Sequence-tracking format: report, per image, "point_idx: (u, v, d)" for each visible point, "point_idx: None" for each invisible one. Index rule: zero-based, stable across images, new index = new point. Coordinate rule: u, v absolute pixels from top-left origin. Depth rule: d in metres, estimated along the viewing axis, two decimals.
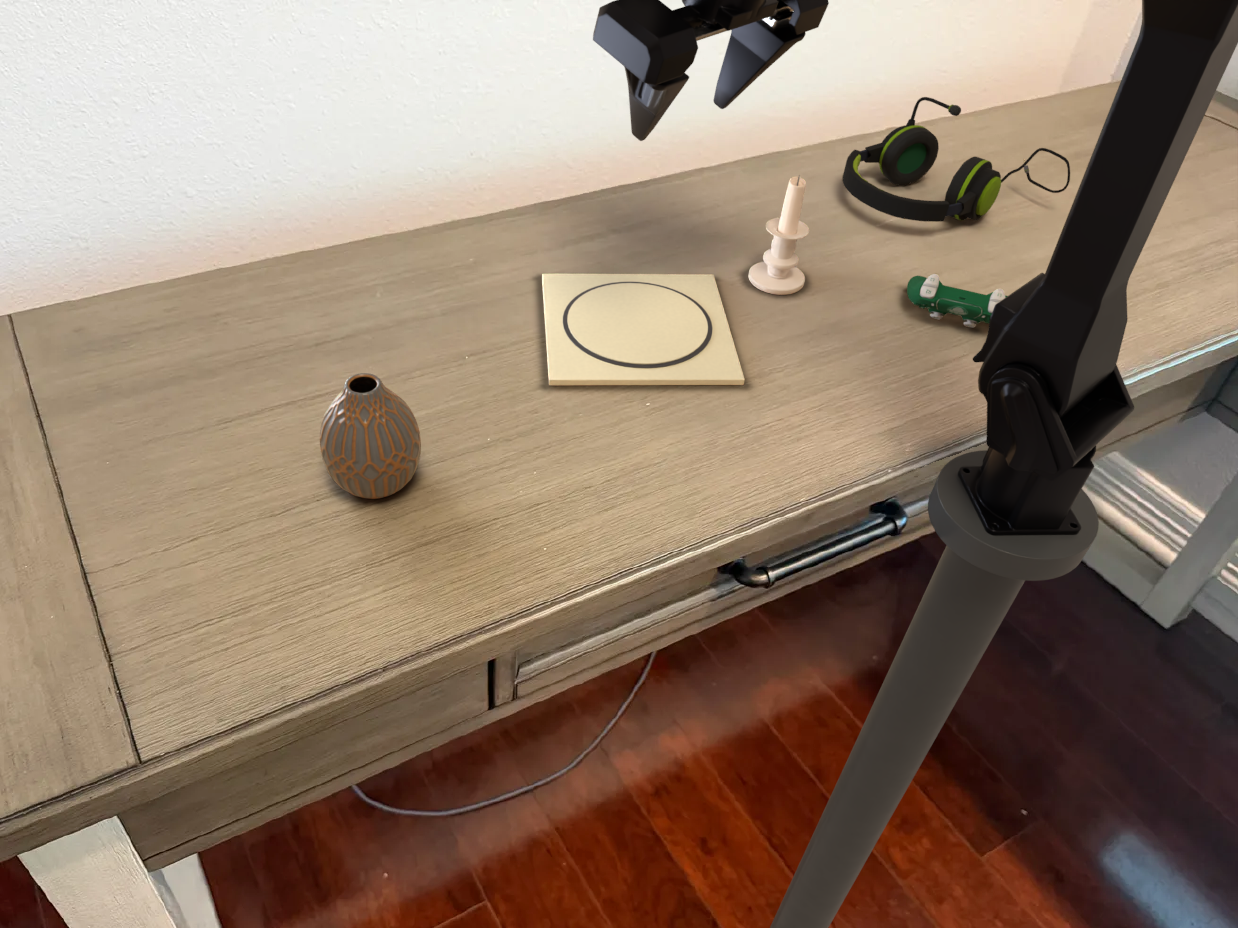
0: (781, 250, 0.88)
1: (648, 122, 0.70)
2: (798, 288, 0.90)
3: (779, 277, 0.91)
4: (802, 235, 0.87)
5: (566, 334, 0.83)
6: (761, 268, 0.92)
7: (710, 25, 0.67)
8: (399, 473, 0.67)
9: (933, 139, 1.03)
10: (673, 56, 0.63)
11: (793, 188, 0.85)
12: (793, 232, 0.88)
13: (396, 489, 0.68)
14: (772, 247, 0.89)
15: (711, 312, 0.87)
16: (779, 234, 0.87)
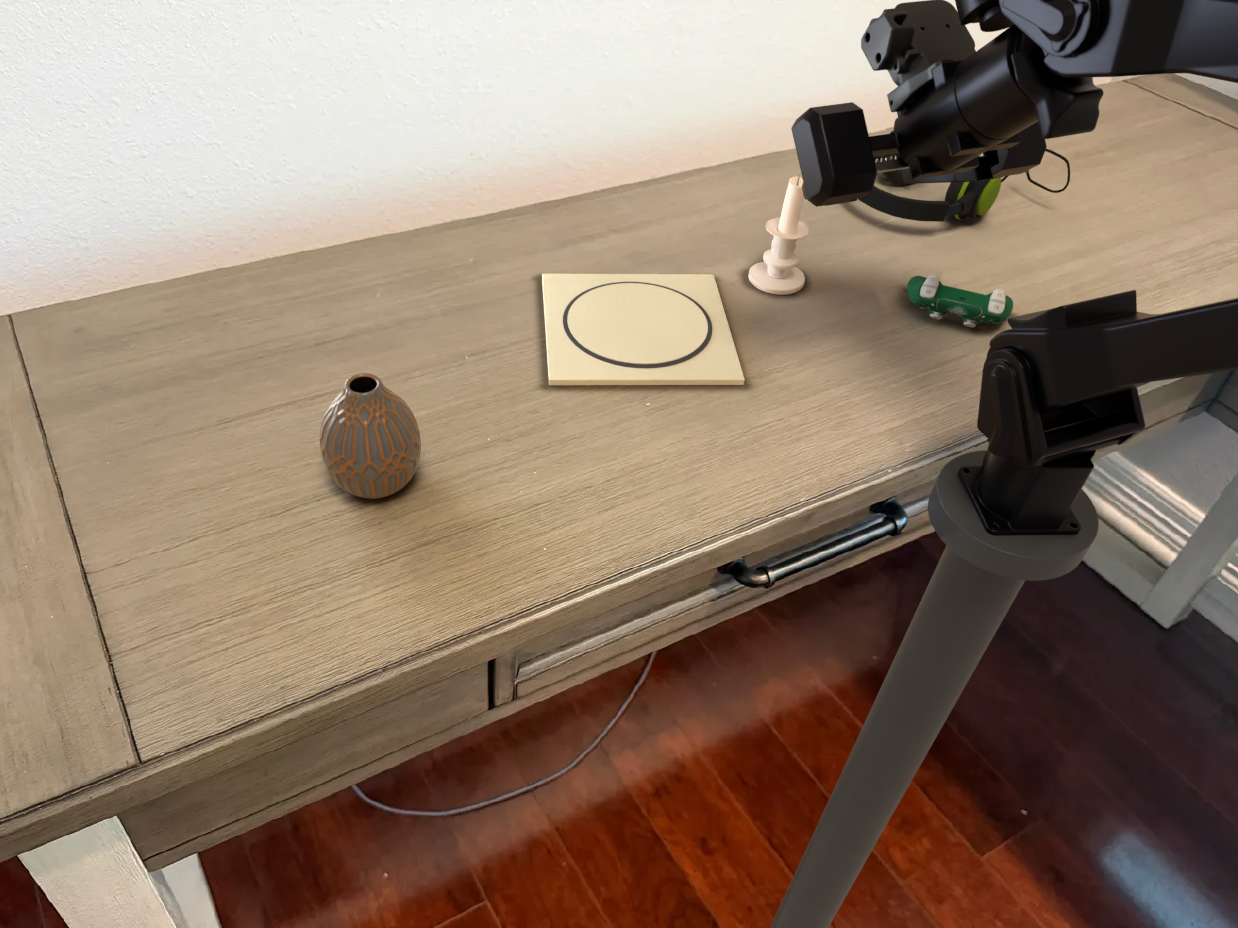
0: (781, 250, 0.88)
1: None
2: (798, 288, 0.90)
3: (779, 277, 0.91)
4: (802, 235, 0.87)
5: (566, 334, 0.83)
6: (761, 268, 0.92)
7: None
8: (399, 473, 0.67)
9: None
10: (842, 195, 0.66)
11: (793, 188, 0.85)
12: (793, 232, 0.88)
13: (396, 489, 0.68)
14: (772, 247, 0.89)
15: (711, 312, 0.87)
16: (779, 234, 0.87)
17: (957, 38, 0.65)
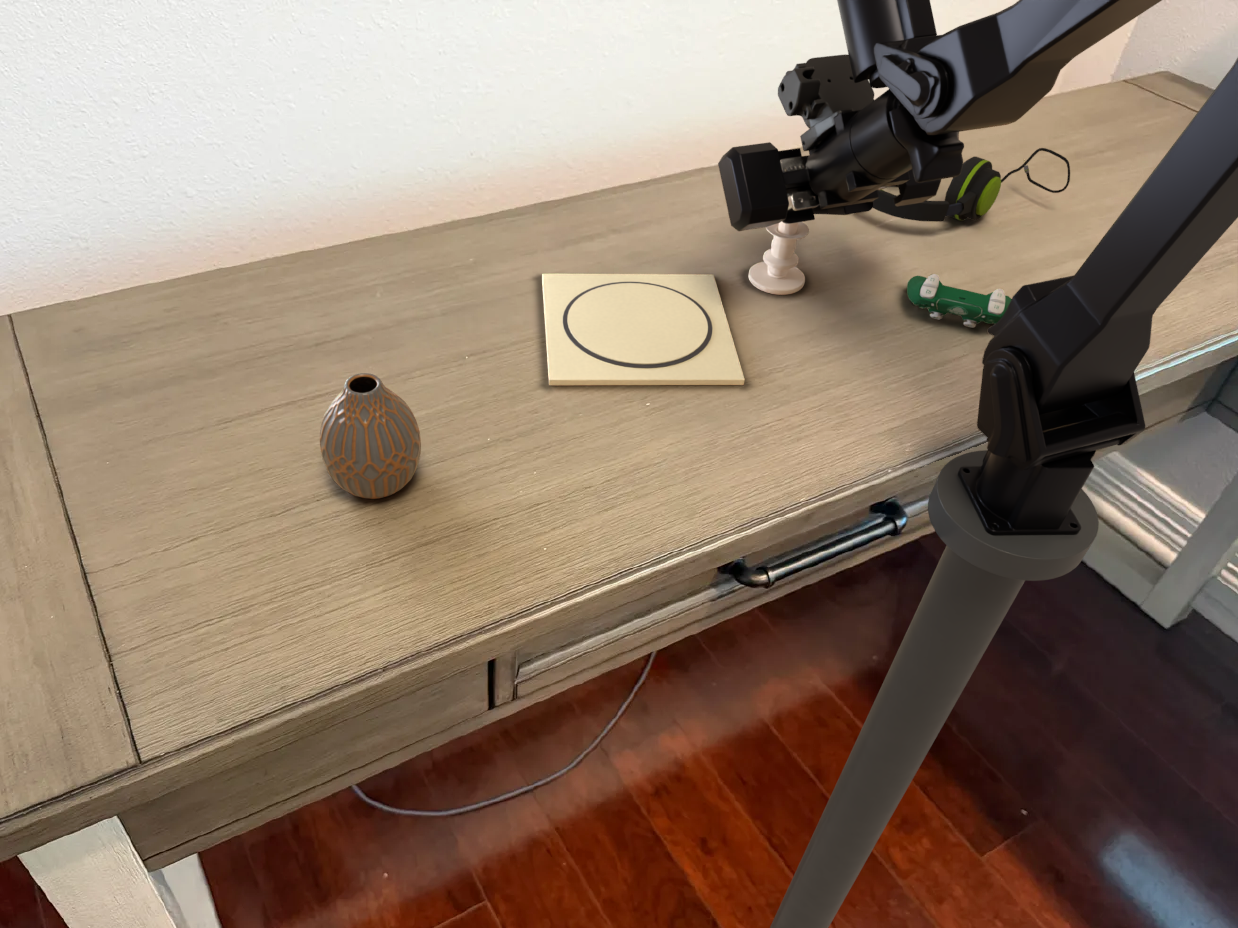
0: (781, 250, 0.88)
1: None
2: (798, 288, 0.90)
3: (779, 277, 0.91)
4: (802, 235, 0.87)
5: (566, 334, 0.83)
6: (761, 268, 0.92)
7: None
8: (399, 473, 0.67)
9: None
10: (759, 222, 0.77)
11: None
12: (793, 232, 0.88)
13: (396, 489, 0.68)
14: (772, 247, 0.89)
15: (711, 312, 0.87)
16: (779, 234, 0.87)
17: (859, 89, 0.76)
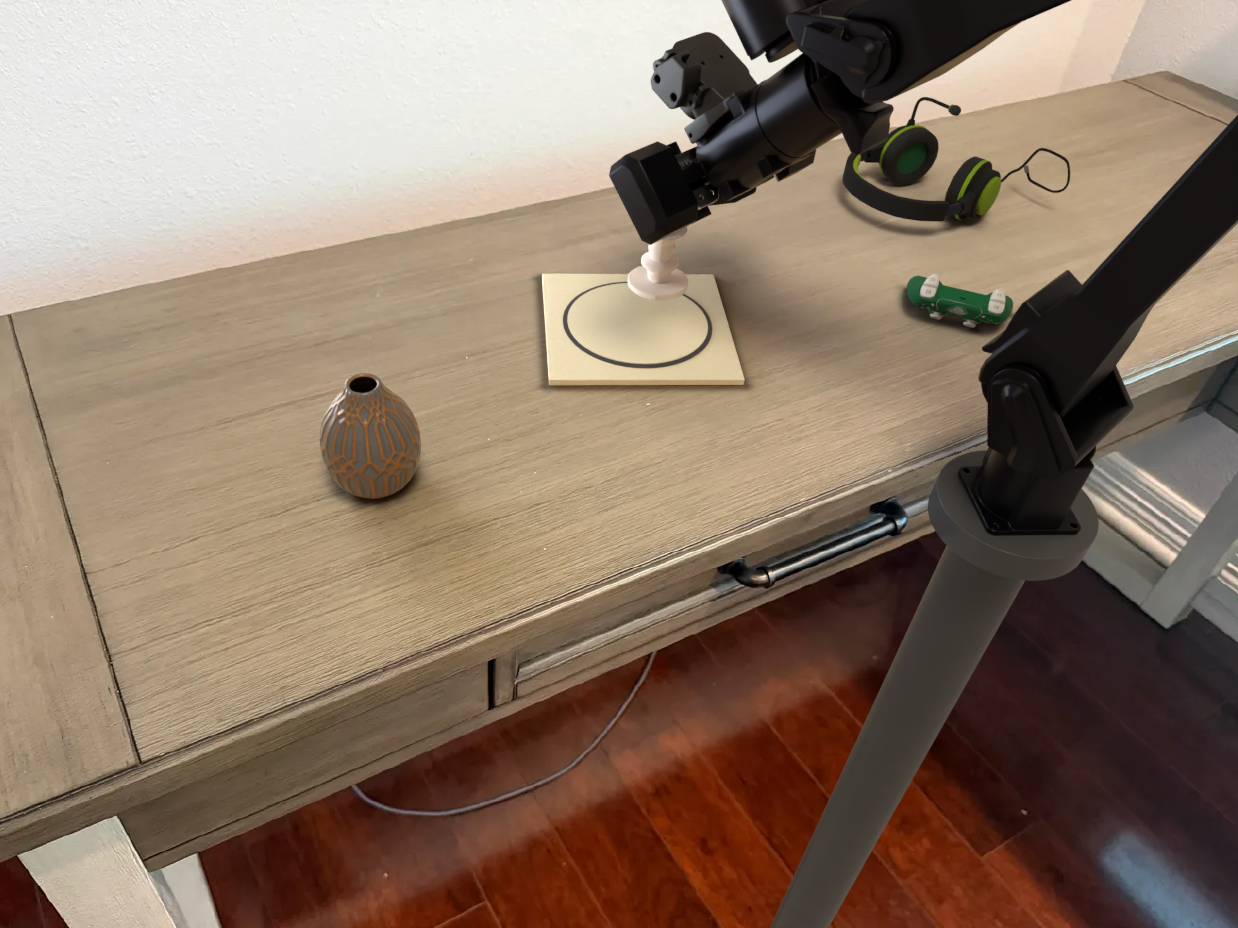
0: (663, 252, 0.81)
1: None
2: (686, 288, 0.83)
3: (663, 281, 0.83)
4: (683, 232, 0.80)
5: (566, 334, 0.83)
6: (639, 276, 0.84)
7: None
8: (399, 473, 0.67)
9: (933, 139, 1.03)
10: (674, 230, 0.69)
11: None
12: None
13: (396, 489, 0.68)
14: (652, 251, 0.81)
15: (711, 312, 0.87)
16: None
17: (733, 67, 0.70)
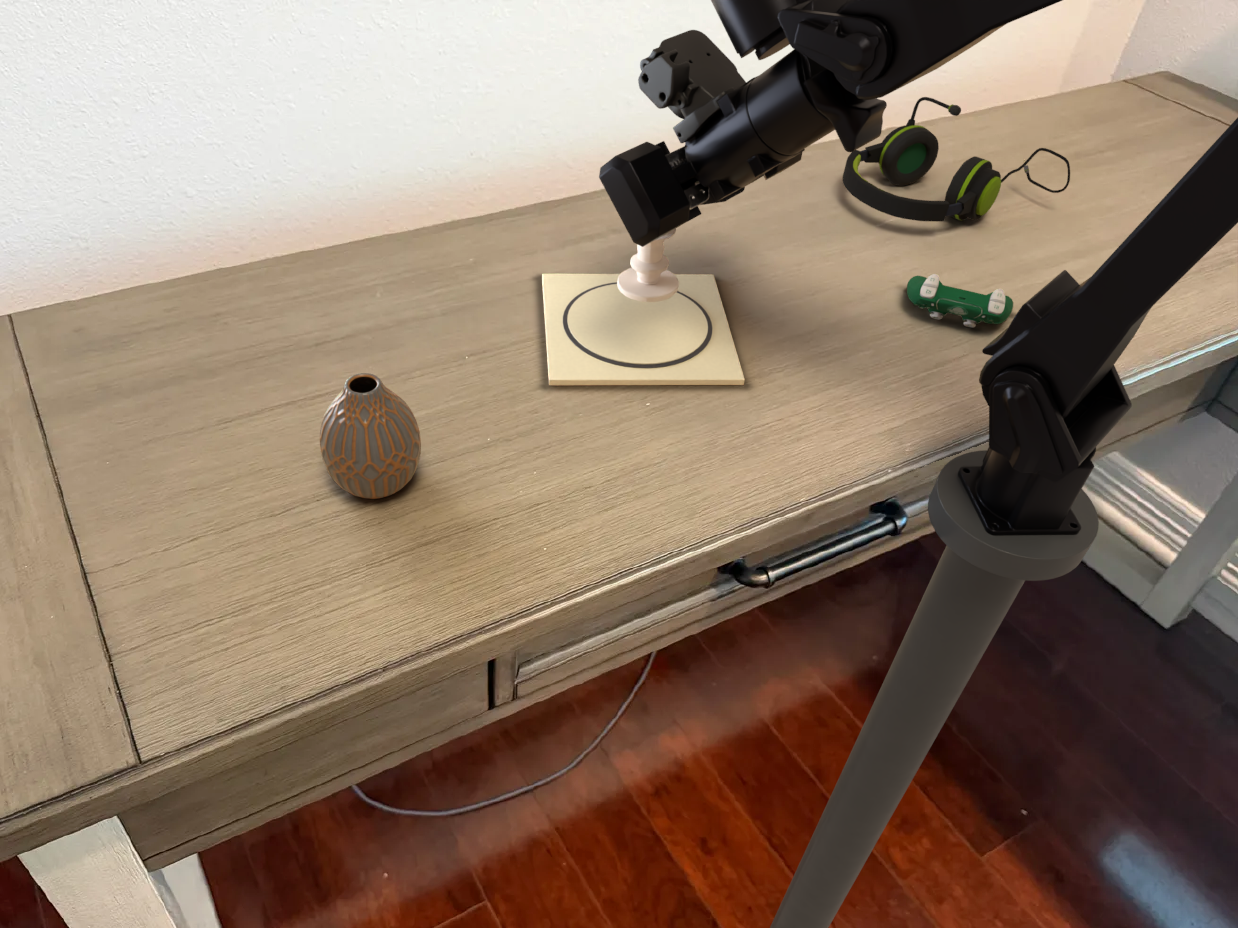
0: (653, 253, 0.80)
1: None
2: (677, 288, 0.82)
3: (654, 282, 0.82)
4: (672, 232, 0.79)
5: (566, 334, 0.83)
6: (628, 278, 0.83)
7: None
8: (399, 473, 0.67)
9: (933, 139, 1.03)
10: (666, 231, 0.68)
11: None
12: None
13: (396, 489, 0.68)
14: (641, 253, 0.80)
15: (711, 312, 0.87)
16: None
17: (720, 65, 0.69)
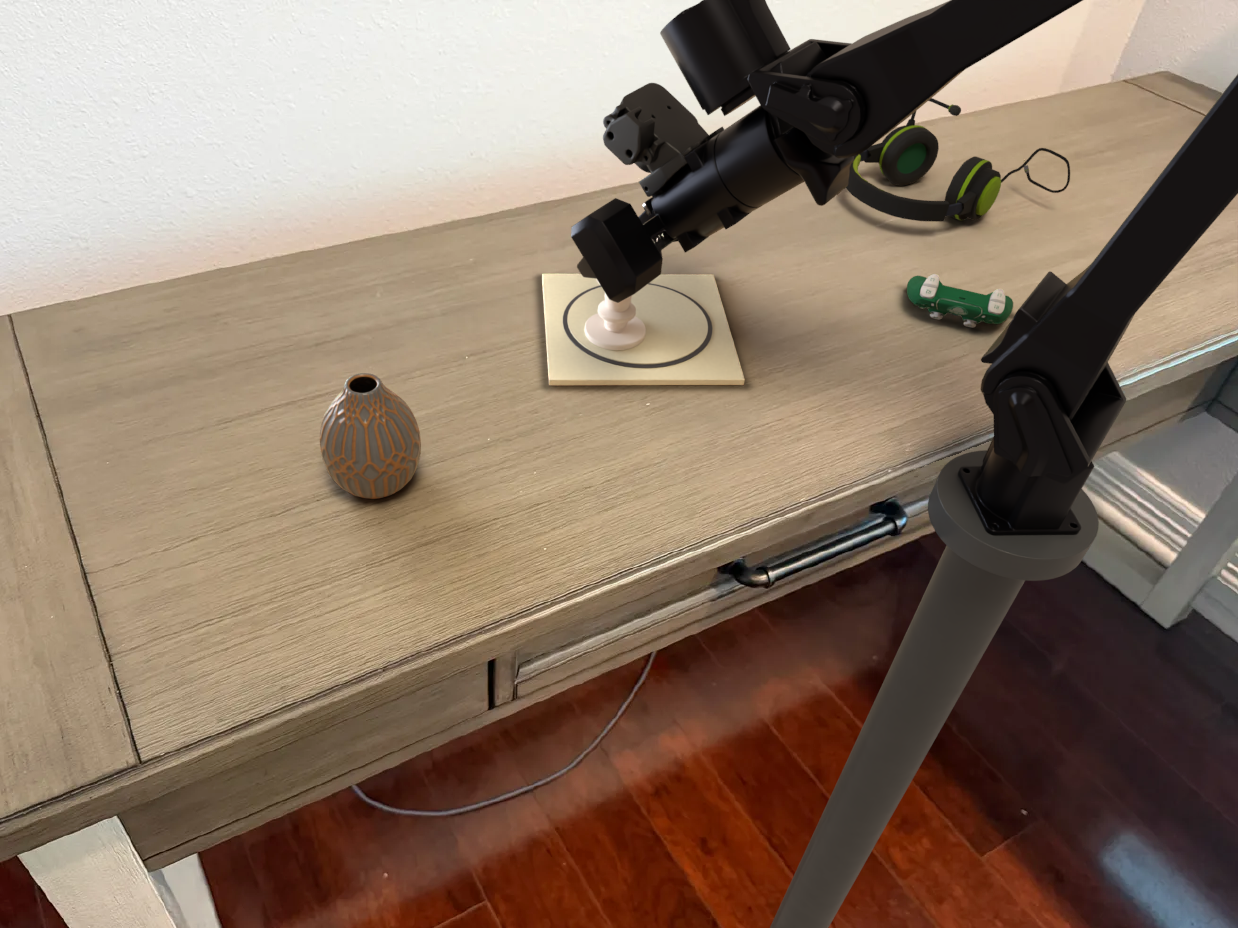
0: (621, 303, 0.80)
1: None
2: (644, 334, 0.83)
3: (622, 330, 0.82)
4: None
5: (566, 334, 0.83)
6: (596, 326, 0.83)
7: None
8: (399, 473, 0.67)
9: (933, 139, 1.03)
10: (641, 287, 0.68)
11: None
12: None
13: (396, 489, 0.68)
14: (609, 302, 0.80)
15: (711, 312, 0.87)
16: None
17: (682, 117, 0.69)
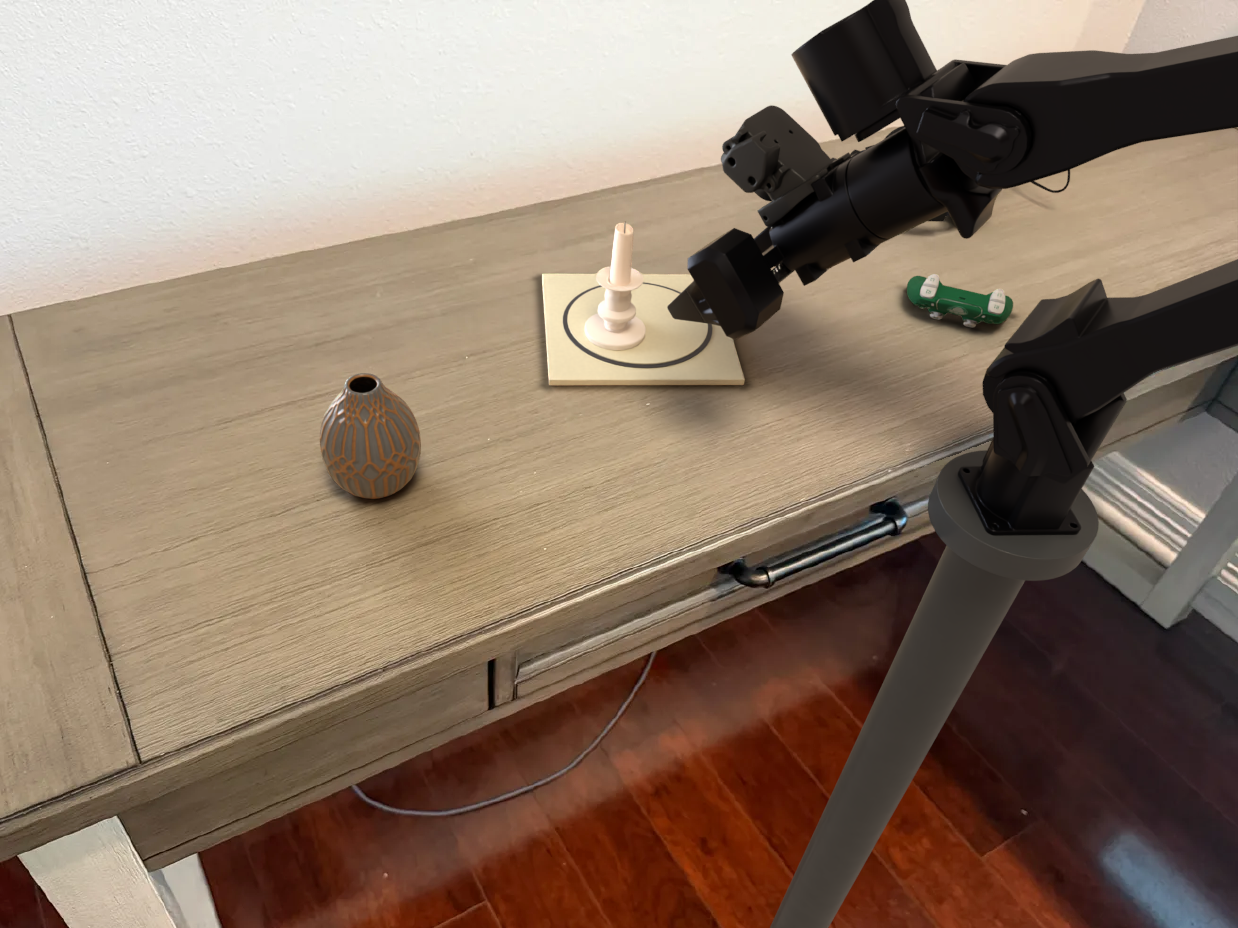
0: (621, 303, 0.80)
1: (693, 319, 0.70)
2: (644, 334, 0.83)
3: (622, 330, 0.82)
4: (639, 281, 0.79)
5: (566, 334, 0.83)
6: (596, 326, 0.83)
7: None
8: (399, 473, 0.67)
9: None
10: (762, 323, 0.64)
11: (624, 236, 0.76)
12: (629, 281, 0.79)
13: (396, 489, 0.68)
14: (609, 302, 0.80)
15: None
16: (618, 287, 0.79)
17: (804, 142, 0.65)
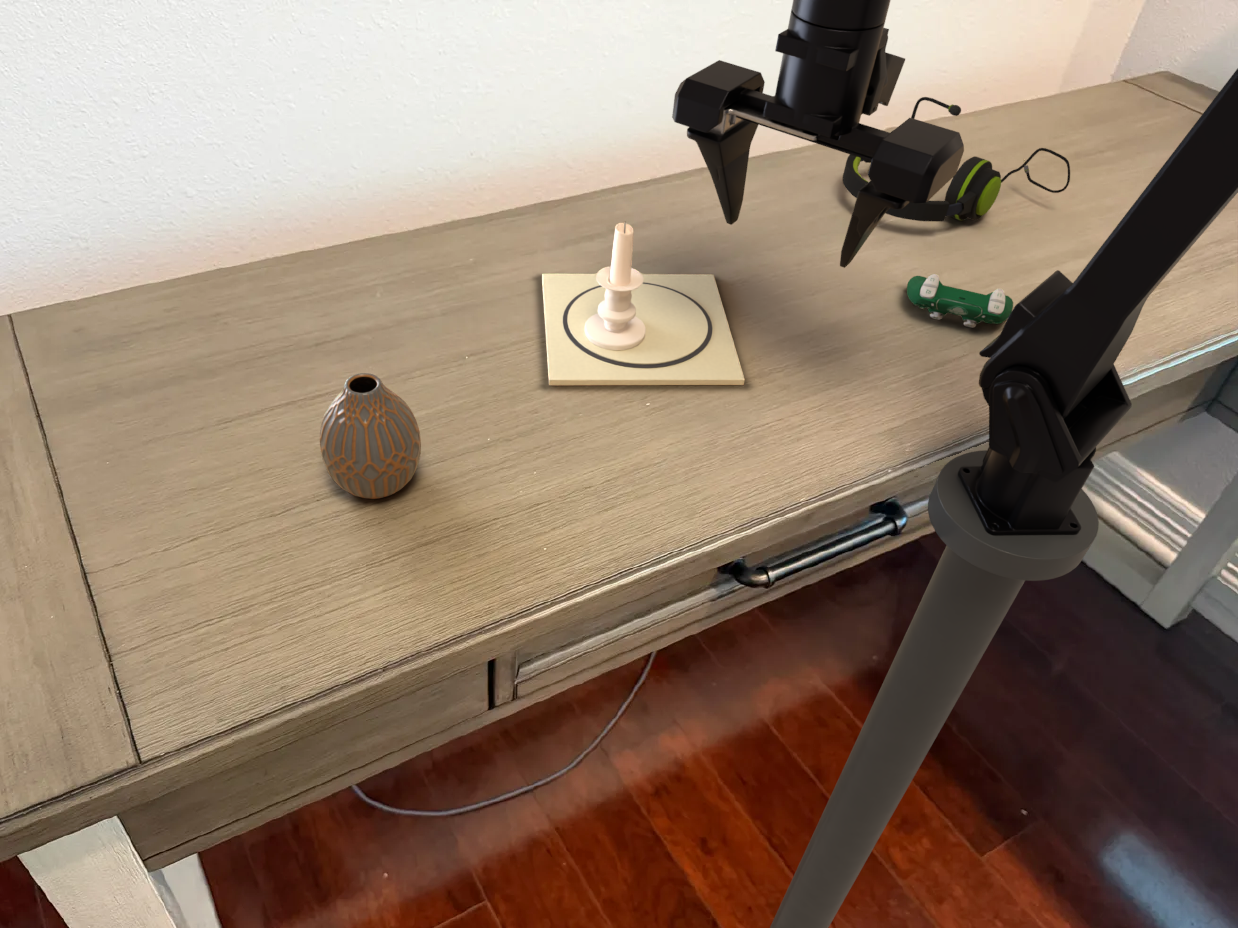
0: (621, 303, 0.80)
1: None
2: (644, 334, 0.83)
3: (622, 330, 0.82)
4: (639, 281, 0.79)
5: (566, 334, 0.83)
6: (596, 326, 0.83)
7: None
8: (399, 473, 0.67)
9: None
10: (690, 100, 0.66)
11: (624, 236, 0.76)
12: (629, 281, 0.79)
13: (396, 489, 0.68)
14: (609, 302, 0.80)
15: (711, 312, 0.87)
16: (618, 287, 0.79)
17: None
